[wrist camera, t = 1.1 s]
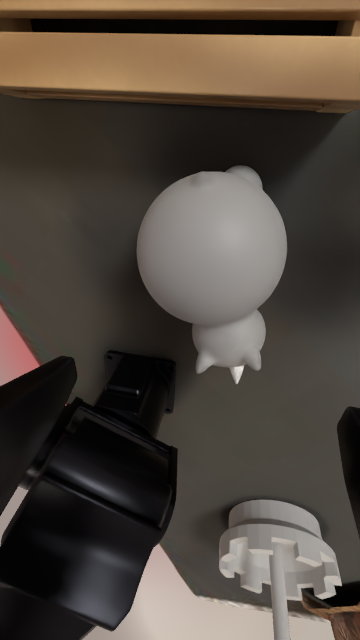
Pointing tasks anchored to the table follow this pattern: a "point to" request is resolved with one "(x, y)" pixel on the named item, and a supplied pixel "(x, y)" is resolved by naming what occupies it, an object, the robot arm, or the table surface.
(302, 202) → the table surface
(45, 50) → the wooden pallet
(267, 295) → the round bodied animal figurine
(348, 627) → the bird sculpture
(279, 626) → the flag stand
